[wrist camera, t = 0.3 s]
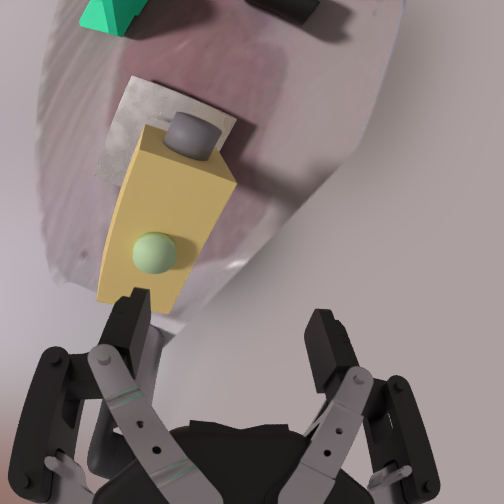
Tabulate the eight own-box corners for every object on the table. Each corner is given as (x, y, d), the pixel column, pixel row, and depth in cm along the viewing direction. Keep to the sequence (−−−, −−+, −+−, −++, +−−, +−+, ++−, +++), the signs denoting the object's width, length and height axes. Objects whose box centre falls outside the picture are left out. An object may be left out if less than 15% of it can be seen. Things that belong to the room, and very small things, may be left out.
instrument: (155, 211, 36) (163, 336, 22) (113, 200, 33) (93, 324, 19) (206, 101, 29) (258, 159, 15) (159, 83, 26) (153, 118, 12)
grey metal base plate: (190, 207, 41) (184, 226, 36) (102, 169, 37) (85, 182, 32) (238, 116, 34) (238, 121, 29) (139, 75, 30) (122, 73, 25)
